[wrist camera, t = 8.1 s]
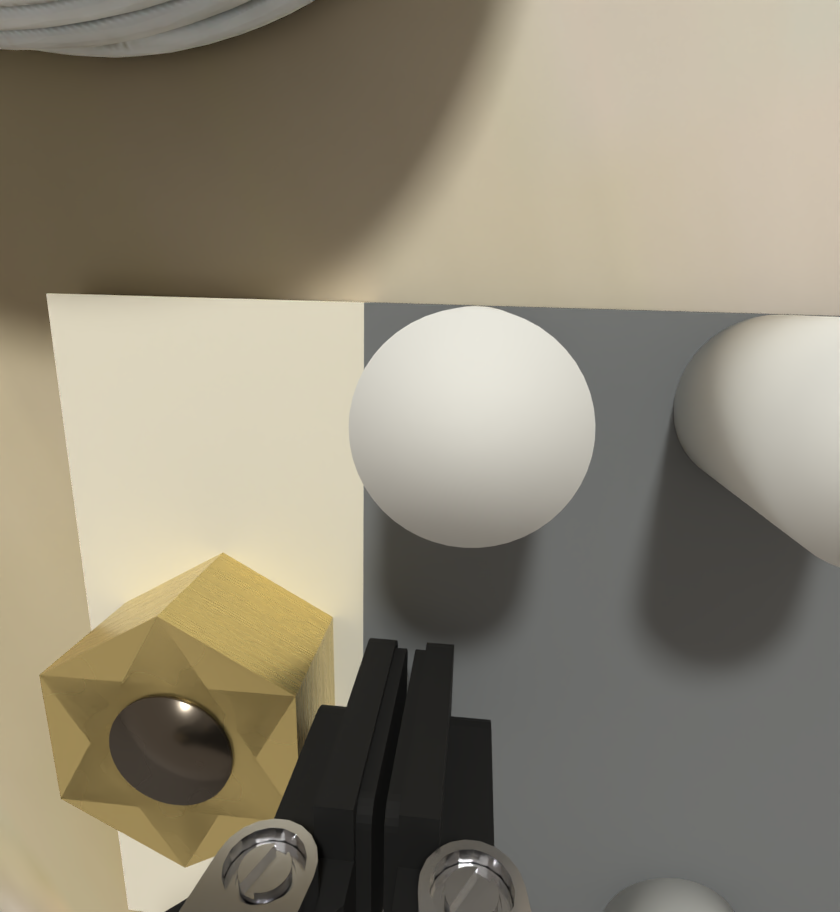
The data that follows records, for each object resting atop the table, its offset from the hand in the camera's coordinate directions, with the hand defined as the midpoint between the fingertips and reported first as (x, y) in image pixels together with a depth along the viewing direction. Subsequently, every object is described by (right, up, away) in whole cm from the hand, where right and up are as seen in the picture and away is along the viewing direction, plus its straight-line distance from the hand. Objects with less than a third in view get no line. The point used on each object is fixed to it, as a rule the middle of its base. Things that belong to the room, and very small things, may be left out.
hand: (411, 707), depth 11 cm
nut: (-4, 0, +1) cm, 4 cm away
